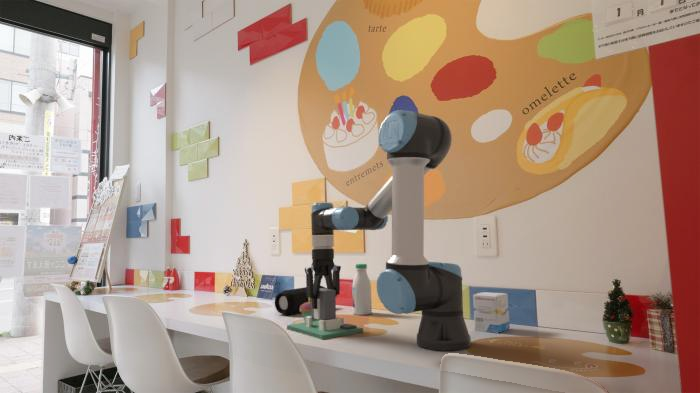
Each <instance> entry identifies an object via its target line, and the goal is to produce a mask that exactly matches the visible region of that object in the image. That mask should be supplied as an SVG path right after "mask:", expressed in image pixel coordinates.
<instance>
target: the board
mask: <svg viewBox="0 0 700 393" xmlns="http://www.w3.org/2000/svg"><path fill="white" fill-rule="evenodd" d="M344 322H345V321H344V317H340V316H338V317H337V316H336V319H331V320H325V321H324V320H319V321H313V319H312V316H307V317H305V320H304V322H299V323H292V324H286V325H287V326H286V329H287V330H290V331H293V332H297V333H300V334H303V335H307V336H308V337H309V336H310V337H313V338H317V339H320V340H328V339H331V338H333V339H334V338H337V337H342V336H348V335H352V334H353V335H354V334H361V333H363V332H364V328H363V327H360V326H359V327H358V326H357V325H355V324H352V323H344Z"/></svg>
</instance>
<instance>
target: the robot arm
mask: <svg viewBox="0 0 700 393" xmlns="http://www.w3.org/2000/svg"><path fill="white" fill-rule="evenodd" d="M379 126H380V127H379V129H378V136H377V141H378V144H379V147H380V149H381V150H382V151H384V152H385V153H386V162H387V163H388V164H389V166H391V168H392V175H391V177H389V179H388V180H387V181H386V182H385V183H384V185H383V186H382V187H381V188H380V189H379V190H378V191H377V193H376V194H375V195H374V196H373V197H372V198H371V200H370V201H369V202H368V203H367V204H366V205H365V206H364V207H354V206H353V207H352V206H348V205H347V206H344V205H342V206H337V207H334V204H333V203H332V202H314V203H313V204H312V205H311V213H310V217H311V223H310V224H311V247H312V249H311V259H312V260H311V261H312V262H311V265H310V266H307V267H305V268H304V272H305V274H306V276H305V278H306V279H305V280H306V281H305V284H306V290H307V297H309V298H311V299H312V308H313V309H314V318H315V319H320V299H318V295H319V290H320V286H321V283H322V279H323V277H324V280H325V285H326V288H327V289H331V290H335V294H336V297H337V296H338V295H340V292H341V290H340V288H341V286H340V282H341V280H340V272H341V268H342V267H341V265H336V264H335V262H334V259H335V249H334V248H333V247H335V242H334V241H335V240H334V238H335V236H334V235H335V234H334V233H335V231H359V230H360V231H376V230H382V229H384V228H385V227H386V226H387V222H388V221H389V217H388V216H389V214H390V213H391V255H390V256H389V258H387V259H386V260H385V269H384V270H383V271H381V272H380V273H379V276H377V280H376V293H377V296H378V299H379V301H380V303H382V305H383V307H384V308H385V309H386V310H388V311H389V312H390V313H391V314H392V313H393V314H396V315H400V314H405V315H406V314H407V315H409V314H412V313H416V312H421V319H420V321H419V322H420V323H419V326H418V327H419V328H418V332H417V333H416V345H417V346H418V347H420V348H423V349H427V350H432V351H433V350H434V351H460V350H466V349H469V348H470V347H471V346H472V342H471V341H472V339H471V335H470V333H469V330H468V327H467V324H466V321H465V318H464V303H463V302H464V301H463V297H464V296H463V276H462V268H461V266H460V265H459V264H457V263H449V262H441V261H440V262H438V261H428V259H427V258H426V257H425V256H424V255H425V254H424V251H425V250H424V249H425V248H424V246H425V242H424V240H425V239H424V238H425V236H424V235H425V232H424V231H425V230H424V229H425V227H424V226H425V225H424V224H425V222H424V221H425V218H424V217H425V216H424V215H425V175H426V174H427V173H428V172H429V171H430V170H436V168H437V167H438V166H440V164H441V163H442V162H444V159H445V158H446V157H447V155H448V153H449V151H450V150H451V149H450V148H451V146H452V140H453V139H452V132H451V129H450V127H449V125H448V124H447V123H446V122H445V121H444V120H443V119H441V118H440V117H437V116H433V115H428V114H423V113H419V112H415V111H413V110H402V109H397V110H393V111H392V112H390V113H389V114H388V115H386V116H385V119H384V120H383V121H382V122H381V124H380V125H379ZM313 273H314V274H313Z"/></svg>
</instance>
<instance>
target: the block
mask: <svg viewBox="0 0 700 393" xmlns="http://www.w3.org/2000/svg"><path fill="white" fill-rule="evenodd" d="M336 298H337V296H336V294H335V290H331V289H324V288H320V290H319V295H318V299H320V319H315V318H314V309H313V308H312V299H311V313H312V319H313V320H317V321H319V320H324V321H325V320H331V319H336V318H337V311H336V310H337V309H336V308H337V307H336V305H337V304H336V302H337V301H336Z"/></svg>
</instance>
